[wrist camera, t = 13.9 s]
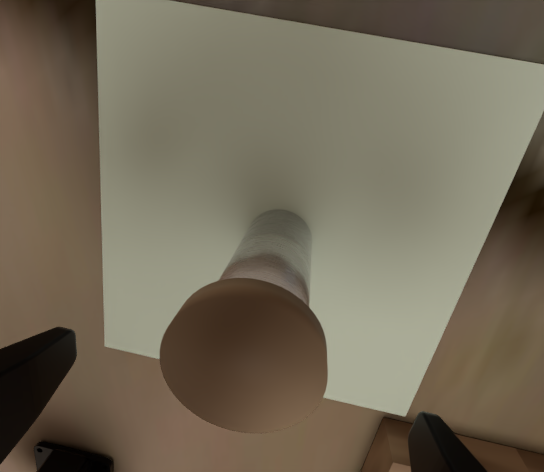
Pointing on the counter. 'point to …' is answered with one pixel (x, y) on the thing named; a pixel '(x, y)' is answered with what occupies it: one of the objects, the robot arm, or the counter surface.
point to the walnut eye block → (494, 458)
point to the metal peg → (252, 335)
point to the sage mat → (302, 174)
